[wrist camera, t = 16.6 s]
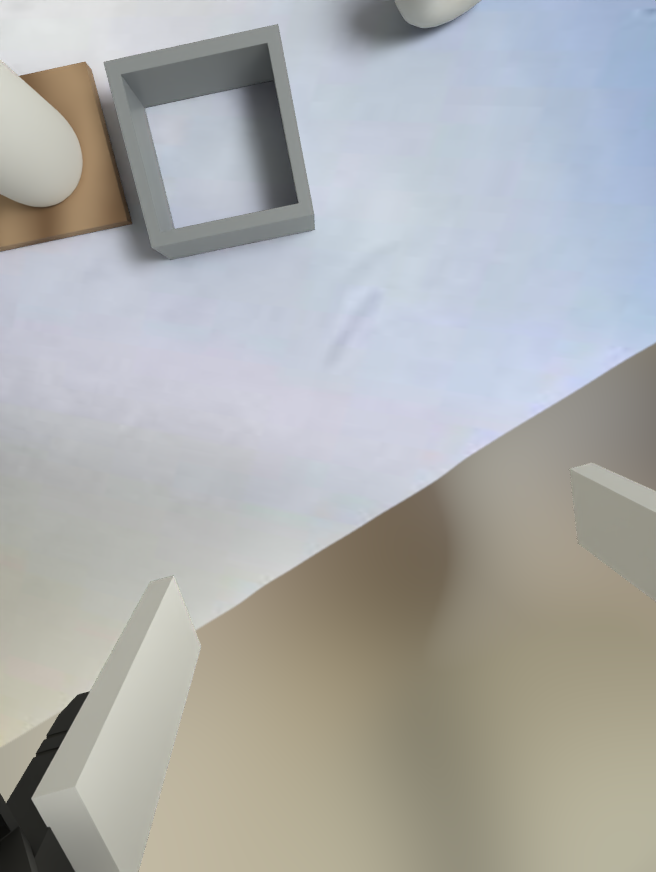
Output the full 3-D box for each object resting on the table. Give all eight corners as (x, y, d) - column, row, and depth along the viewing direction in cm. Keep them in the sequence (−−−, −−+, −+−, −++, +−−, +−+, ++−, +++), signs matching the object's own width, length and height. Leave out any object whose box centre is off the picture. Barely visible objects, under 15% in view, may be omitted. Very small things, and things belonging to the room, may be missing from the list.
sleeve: (170, 259, 39) (151, 248, 35) (129, 96, 37) (103, 61, 32) (314, 229, 39) (314, 214, 34) (283, 63, 36) (278, 24, 32)
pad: (-2, 251, 39) (-10, 249, 38) (-50, 100, 36) (-61, 93, 35) (132, 223, 38) (127, 220, 37) (91, 69, 36) (85, 61, 35)
